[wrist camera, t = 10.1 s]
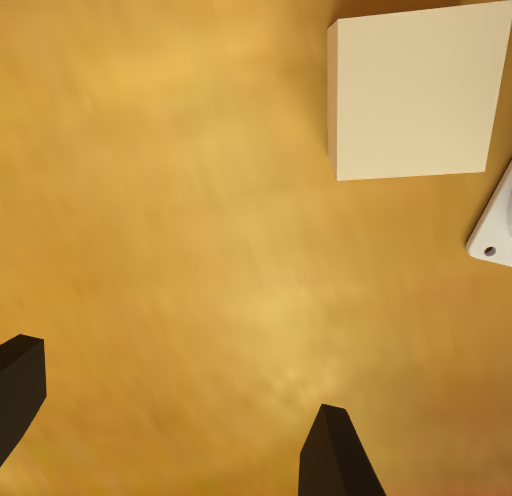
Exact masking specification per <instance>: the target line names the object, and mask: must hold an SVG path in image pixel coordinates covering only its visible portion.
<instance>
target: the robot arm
mask: <svg viewBox="0 0 512 496" xmlns="http://www.w3.org/2000/svg"><path fill="white" fill-rule="evenodd" d="M488 247H492V249H491V250H490V251H489V252H487V253H484V251H485V249H486V248H488ZM466 251H467V252H468V253H469V254H470V256H472V257H474V258H478V259H482V260H486V261H490V262H494V263H499V264H503V265H507V266H511V267H512V160H511V162H510V164H509V166H508V168H507V170H506V171H505V173H504V175H503V177H502V179H501V181H500V183H499V184H498V186H497V188H496V190H495V192H494V194H493V196H492V197H491V199H490V201H489V203H488V205H487V207H486V209H485V210H484V212H483V214H482V216H481V218H480V220H479V222H478V223H477V225H476V227H475V229H474V231H473V233H472V235H471V236H470V238H469V240H468V242H467V244H466ZM46 396H47V394H46V373H45V353H44V339H39V338H35V337H31V336H26V335H22V334H19V335H17V336H16V337H14V338H12V339H10V340H8V341H7V342H5V343H3V344H1V345H0V467H1V466H2V464H3V463H4V461H5V460H6V459H7V457H8V456H9V455H10V453H11V452H12V451H13V449H14V448H15V447H16V445H17V444H18V442H19V441H20V440H21V438H22V437H23V435H24V434H25V432H26V430H27V429H28V427H29V426H30V424H31V422H32V421H33V419H34V417H35V416H36V414H37V412H38V410H39V409H40V407H41V405H42V403H43V402H44V400H45V398H46ZM298 496H386V494H385V492H384V490H383V488H382V486H381V484H380V482H379V480H378V478H377V476H376V474H375V472H374V470H373V468H372V465H371V463H370V461H369V459H368V457H367V455H366V453H365V450H364V448H363V446H362V444H361V442H360V440H359V437H358V435H357V433H356V431H355V428H354V426H353V424H352V422H351V419H350V417H349V415H348V413H347V411H346V410H345V409H343V408H339V407H334V406H330V405H326V404H322V405H321V407H320V409H319V412H318V414H317V416H316V418H315V421H314V423H313V425H312V428H311V430H310V432H309V435H308V437H307V439H306V441H305V444H304V446H303V448H302V451H301V453H300V466H299V486H298Z"/></svg>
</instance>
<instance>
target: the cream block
mask: <svg viewBox="0 0 512 496" xmlns="http://www.w3.org/2000/svg"><path fill="white" fill-rule="evenodd" d="M511 23H512V0H508V1H498V2H489V3H480V4H471V5H462V6H453V7H444V8H435V9H426V10H417V11H408V12H399V13H390V14H381V15H371V16H362V17H353V18H344V19H338V20H337V21H336V22H335V23H333V24H332V25H331V26H330V27H329V28H328V29H327V119H328V159H329V162H330V164H331V167H332V169H333V172H334V174H335V177H336V180H337V181H341V180H357V179H373V178H390V177H406V176H422V175H439V174H455V173H471V172H485V167H486V161H487V156H488V150H489V145H490V139H491V134H492V128H493V122H494V117H495V111H496V106H497V100H498V95H499V89H500V84H501V78H502V73H503V67H504V62H505V56H506V50H507V45H508V39H509V34H510V28H511Z"/></svg>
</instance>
